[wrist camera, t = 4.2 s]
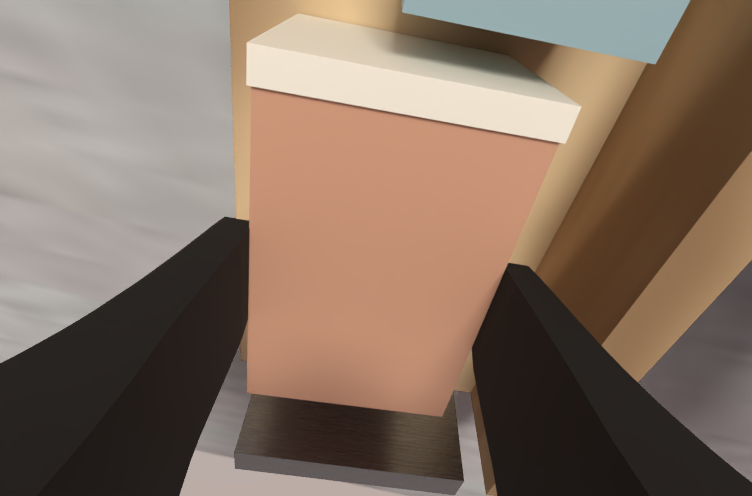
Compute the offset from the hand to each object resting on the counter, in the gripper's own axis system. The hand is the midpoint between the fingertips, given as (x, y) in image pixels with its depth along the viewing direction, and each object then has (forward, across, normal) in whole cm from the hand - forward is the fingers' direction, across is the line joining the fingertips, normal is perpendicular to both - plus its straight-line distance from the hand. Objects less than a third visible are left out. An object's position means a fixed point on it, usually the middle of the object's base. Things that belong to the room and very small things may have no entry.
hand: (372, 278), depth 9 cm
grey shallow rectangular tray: (+4, -1, +8) cm, 9 cm away
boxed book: (+4, 0, 0) cm, 4 cm away
